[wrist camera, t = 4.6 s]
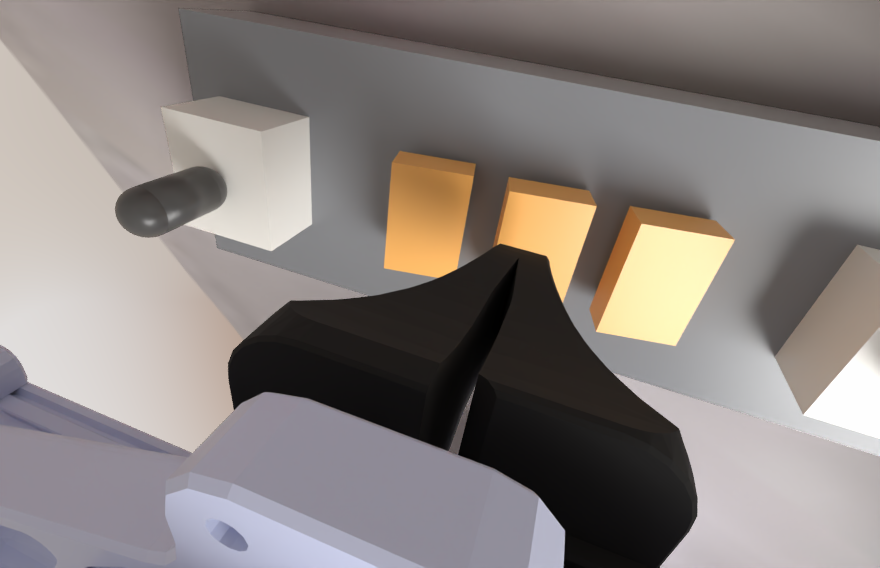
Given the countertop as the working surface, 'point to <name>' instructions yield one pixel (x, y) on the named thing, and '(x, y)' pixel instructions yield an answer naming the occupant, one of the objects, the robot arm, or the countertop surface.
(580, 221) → the middle switch
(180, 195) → the left plug
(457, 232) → the switch
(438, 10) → the countertop surface
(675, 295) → the switch
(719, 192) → the power strip
